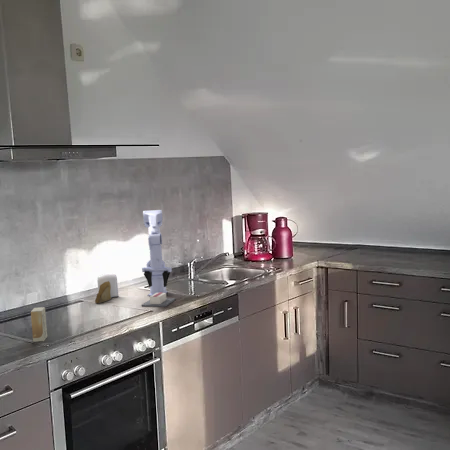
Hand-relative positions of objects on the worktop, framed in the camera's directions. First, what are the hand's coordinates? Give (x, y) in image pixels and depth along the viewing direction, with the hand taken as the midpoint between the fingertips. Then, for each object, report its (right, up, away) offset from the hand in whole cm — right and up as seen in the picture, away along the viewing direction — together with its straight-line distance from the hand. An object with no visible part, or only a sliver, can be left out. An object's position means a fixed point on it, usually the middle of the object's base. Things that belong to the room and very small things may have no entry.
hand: (157, 286), depth 276 cm
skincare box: (-40, -15, -53) cm, 68 cm away
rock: (-29, -9, +11) cm, 33 cm away
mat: (0, -8, +1) cm, 8 cm away
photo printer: (-28, -8, +19) cm, 35 cm away
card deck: (0, -7, 0) cm, 7 cm away
